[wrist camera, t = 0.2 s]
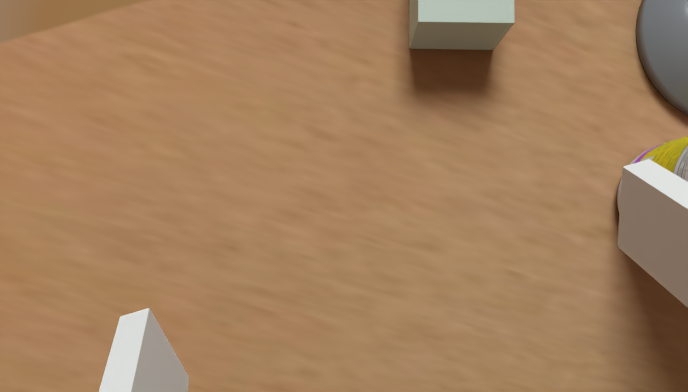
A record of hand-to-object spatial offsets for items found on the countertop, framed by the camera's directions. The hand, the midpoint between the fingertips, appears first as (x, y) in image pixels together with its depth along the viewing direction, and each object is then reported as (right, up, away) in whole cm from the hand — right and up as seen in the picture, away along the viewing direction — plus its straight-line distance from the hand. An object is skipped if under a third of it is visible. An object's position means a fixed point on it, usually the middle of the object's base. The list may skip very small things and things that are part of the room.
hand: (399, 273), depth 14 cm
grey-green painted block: (+5, +13, +17) cm, 22 cm away
